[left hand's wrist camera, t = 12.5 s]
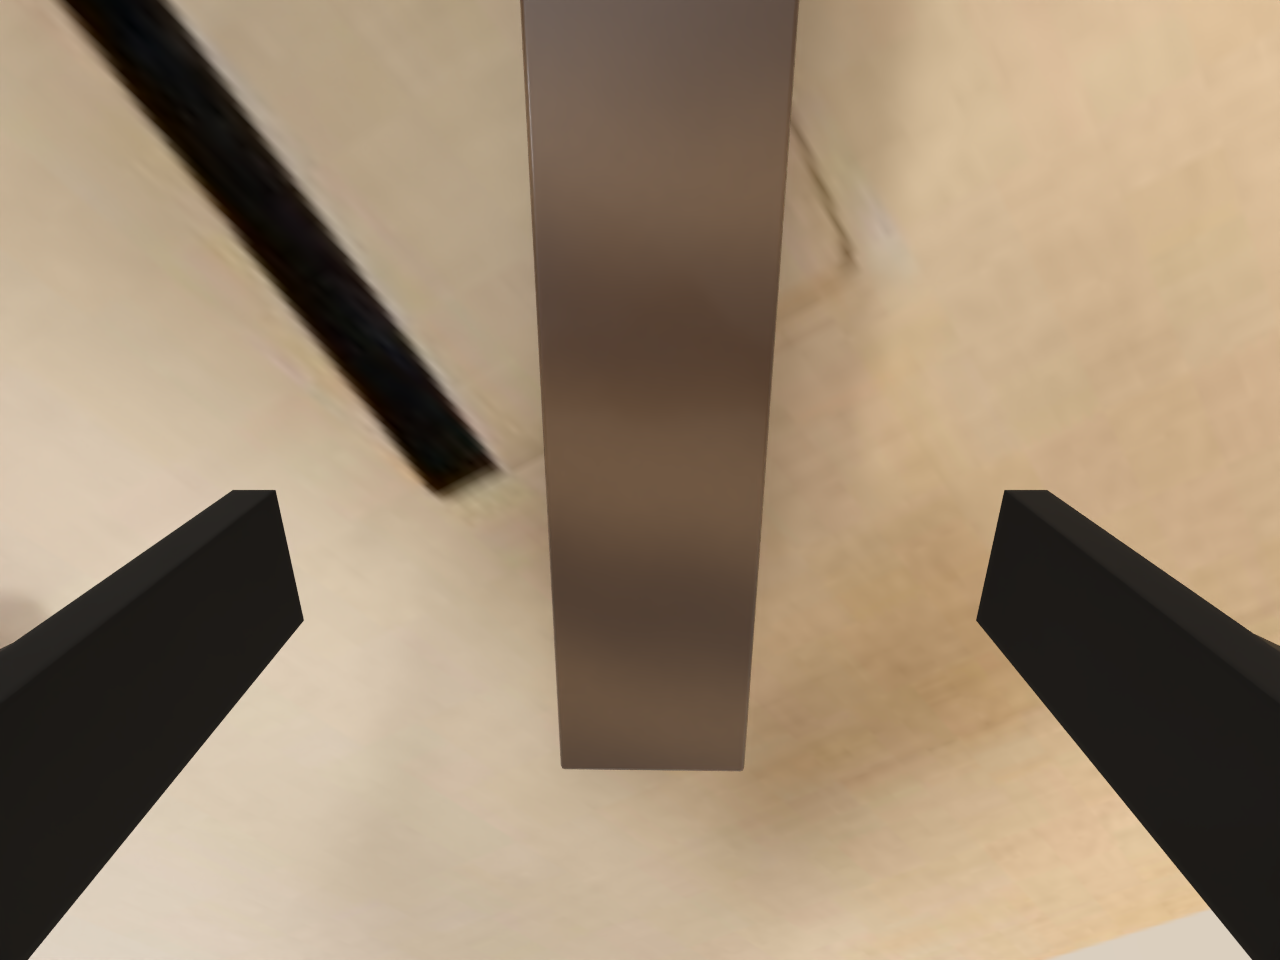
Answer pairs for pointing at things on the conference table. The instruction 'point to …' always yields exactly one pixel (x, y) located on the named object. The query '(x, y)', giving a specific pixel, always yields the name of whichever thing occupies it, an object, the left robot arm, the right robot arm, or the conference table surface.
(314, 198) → the conference table surface
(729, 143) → the bar
